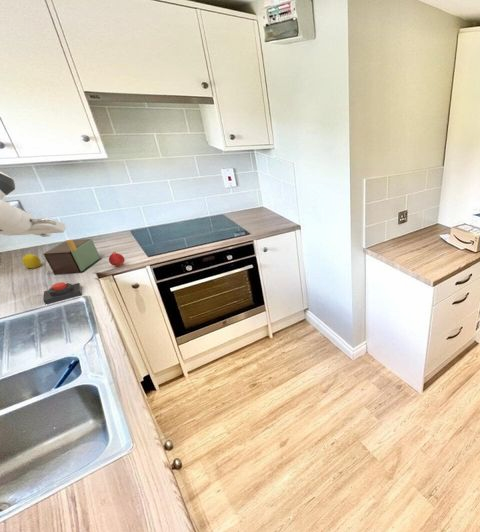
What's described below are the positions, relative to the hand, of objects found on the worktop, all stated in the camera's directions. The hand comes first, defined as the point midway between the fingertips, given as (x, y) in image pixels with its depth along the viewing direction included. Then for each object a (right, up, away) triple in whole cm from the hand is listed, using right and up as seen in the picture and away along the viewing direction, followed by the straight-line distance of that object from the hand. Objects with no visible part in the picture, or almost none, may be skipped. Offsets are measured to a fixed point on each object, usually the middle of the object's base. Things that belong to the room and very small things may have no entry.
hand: (47, 234), depth 135 cm
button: (+8, -23, -2) cm, 24 cm away
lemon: (-27, -15, +20) cm, 37 cm away
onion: (+10, -14, +24) cm, 29 cm away
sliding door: (-4, -12, +24) cm, 27 cm away
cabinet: (-10, -13, +23) cm, 28 cm away
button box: (+7, -26, 0) cm, 27 cm away
